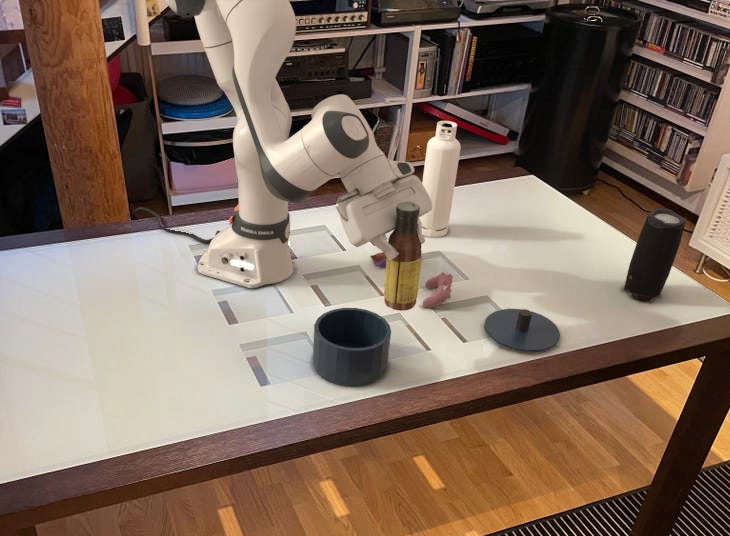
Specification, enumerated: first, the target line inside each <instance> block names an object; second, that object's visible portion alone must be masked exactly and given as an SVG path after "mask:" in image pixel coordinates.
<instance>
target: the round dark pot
mask: <svg viewBox="0 0 730 536" xmlns="http://www.w3.org/2000/svg"><path fill="white" fill-rule="evenodd" d="M313 326H314V327H313V345H312V366H313V369H314V371H315V372H316V373H317V375H318V376H319V377H321V378H322V379H324V380H325V381H327V382H329V383H331V384H335V385H338V386H342V387H350V388H351V387H352V388H353V387H355V388H356V387H364V386H368V385H371V384H374V383H376V382H377V381H379V380H380V379H382V378H383V376H384V375H385V374H386V371H387V367H388V363H389V354H390V346H391V337H392V330H391V325H390V323H389V322H388V321H387V320H386V318H384V317H382V316H381V315H380V314H378V313H376V312H374V311H371V310H368V309H364V308H359V307H340V308H335V309H331V310H328V311H326V312H324V313H322V314H320V315H319V317H317V319H316V320H315V323H314V325H313Z"/></svg>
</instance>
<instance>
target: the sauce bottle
mask: <svg viewBox="0 0 730 536" xmlns="http://www.w3.org/2000/svg"><path fill="white" fill-rule="evenodd" d="M419 213H420V207H419V205H418V204H416V203H414V202H401V203H398V204H397V207H396V214H397V219H396V228H395V229H394V230H392V231H391V233H390V234H389V237H388V241H387V242H388V243H389V244H390V245H391V246H392V247H395V246H396V247H397V249H398V251H399V253H400V255H399V256H397V257H396V258H394V259H392V260H389V259H388V258H386V267H385V275H384V287H383V298H384V299H383V300H384V304H385V306H386V307H388V308H390V309H392V310H394V311H398V312H399V311H402V312H403V311H404V312H406V311H409V310H412V309H414V307H415V306H416V304H417V300H418V299H417V298H418V292H419V283H420V272H421V262H422V244H421V242H420V239H419V236H418V233H417V220H418V215H419Z"/></svg>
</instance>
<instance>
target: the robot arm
mask: <svg viewBox="0 0 730 536" xmlns="http://www.w3.org/2000/svg"><path fill="white" fill-rule="evenodd" d="M164 2H165V3H166V5H167V6H168V7H169V8H170V10H171V11H172V12H173V14H175V15H177V16H178V17H181V18H192V17H194V20H195V25H196V29H197V32H198V34H199V38H200V41H201V44H202V46H203V49H204V52H205V54H206V57H207V60H208V62H209V65H210V68H211V70H212V73H213V75H214V78H215V81H216V83H217V86H218V87H219V88H220V89H221V90H222V91H223V92H224V94H225V95H226V97H227V99H228V100H229V102H230V104H231V106H232V108H233V110H234V112H235V114H236V120H237V122H236V125H235V127H234V129H233V133H232V147H233V155H234V163H235V164H234V165H235V172H236V178H237V186H238V187H237V189H238V191H237V192H238V193H237V194H238V196H237V197H238V204H237V205H236V206H235V208H233V209H234V211H233V212H232V213H231V215H230V217H229V219H228V226H227V227H225V228H223V229H222V230H216V231H215V235H214V236H213V237H211V238H208V239H204V238H201V237H199V236H197V235H196V234H195V233H192V234H189V233H186V232H181V231H175V230H170V229H171V228H170V229H166V228H164V227H162V226H161V225H160V222H159V219H158V218H161V219H162V220H163V218H162V217H161V216H160V214H158V213H157V212H155V211H153V210H152V209H150V208H147V207H143V206H139V207H137V208H135V209H134V213H139V212H145V213H148V214H150V215H152V217H153V216H154V217H155V218H157V220H158V225H159V227H160V228H161V229H162V230H164V231H166V232H168V233H173V234H180V235H184V236H188V237H190V238H192V239H194V240H196V241H197V242H199V243H202V244H209V245H208V249H207V250H206V251H205V252H204V253H203V254H202V256H201V257H200V259H199V261H198V263H197V271H198V274H201V275H204V276H208V277H210V278H214V279H217V280H221V281H223V282H227V283H231V284H234V285H238V286H240V287H244V288H247V289H257V288H259V287H262V286H265V285H271V284H276V283H280V282H282V281H283V282H284V281H285V280H287V279H289V278H290V277H291V276H292V275H293V273H294V271H295V268H294V264H293V260H292V257H291V250H290V241H289V239H290V235H291V216H290V212H289V203H296V204H297V203H302V202H303V201H305V200H306V199H307V198H308V197H309V196H311V195H312V194H313V193H314V192H315V191H316V190H317V189H318V188H320V187H321V186H322V185H325V184H326V183H327V182H328V181H330V180H332V179H333V178H334V177H336V176H337V175H338V174H339V178H340V180H341V183H342V184H343V186H344V188H345V189H346V191H347V193H344V194H343V193H342V194H341V195H339V196H338V197H337V200H336V202H335V209H336V211H337V213H338V215H339V220H340V222H341V225H342V227H343V229H344V233H345V234H346V236H347V239H348V241H349V243H350V244H351V245H352V246H354V247H355V248H359V247H362V246H364V245H365V244H368V243H370V242H372V243H373V245H374V246H375V247H376V248H378V250H380V251H381V252H385V254H386V256H387V258H388V259H389V260H392V259H394V258H396V257H397V256H399V255H400V253H399V251H398V249H397V247H396V246H395V247H392V246H391V245H390V244H389V243H388V241H387V240H388V237H387V235H386V234H388V233H390V232H393V231H394V230H395V228H396V219H397V214H396V207H397V204H398V203H401V202H414V203H416V204H418V205H419V207H420V213H419V215H418V220H417V233H418V236H419V239H420V242H421V245H422V244H424V243H425V242H426V239H425V237H424V235H422V228H423V227H422V226H421V221H420V219H419V217H421V216H423V215H424V214H426V213H428V212H429V211H431V210H432V201H431V199H430V197H429V195H428V193H427V191H426V189H425V187H424V186H423V184H422V181H421V180H420V178H419V177H418V176H417V175H415V174H413V173H415V167H414V165H413V164H412V163H411V162H410V161H399V160H391V159H389V160H388V158H387V156H386V155H385V153H384V151H382V150H381V149H380V147H379V146H378V145H377V142H376V138H375V133H374V132H373V129H372V128H371V127H370V124H369V123H368V121H367V120H366V118H365V116H364V115H363V114H362V112H361V111H360V109H359V108H358V106H357V105H356V104H355V102H354V101H353V100H352V99H351V98H350V96H348V95H346V94H341V93H340V94H334V95H330V96H328V97H326V98H324V99H323V100H321V101H319V102H318V103H317V104H316V105H315V106H313V109H312V111H311V115H310V116H311V120H310V121H309V122H308V123H306V124H305V125H304V126H303V127H302V128H301V129H299V131H297V132H296V133H294V134H293V135H292V136H290V133H291V128H292V124H293V117H292V112H291V109H290V106H289V103H288V102H287V100H286V98H285V96H284V93H283V91H282V89H281V87H280V85H279V83H278V81H277V79H276V78H277V75H278V73H279V71H280V69H281V67H282V66H283V64H284V62H285V60H286V59H287V58H288V56H289V53H290V52H291V50H292V48H293V45H294V42H295V39H296V34H297V19H296V14H295V11H294V9H293V6H292V4H291V3H290V2H291V1H290V0H164Z"/></svg>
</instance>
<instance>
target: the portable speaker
mask: <svg viewBox="0 0 730 536" xmlns="http://www.w3.org/2000/svg"><path fill="white" fill-rule="evenodd" d="M686 225H687V217H684V216H682V215H680V214H678V213H676V212H674V211H673V210H672V209H670V208H666V207H665V208H663V207H662V208H654V209H653V210H652V211H650V212H649V213H648V214H647V216H646V219H645V221H644V223H643V226H642V228H641V230H640V231H639V232H640V233H639V236H638V238H637V242H636V245H635V247H634V250H633V253H632V256H631V259H630V261H629V265H628V270H627V272H626V273H627V274H626V278H625V282H624V288H623V290H624V291H627V292H628V293H629V294H630V295H631V297H632V299H634V300H637V301H639V302H651V301H652V300H654V299H655V298H657V297H659V296H660V295H661V294H662V292H663V290H664V287H665V284H666V283H667V280H668V278H669V275H670V273H671V271H672V269H673V265H674V262H675V259H676V256H677V253H678V250H679V249H680V245H681V241H682V238H683V234H684V229H685V227H686Z"/></svg>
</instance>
